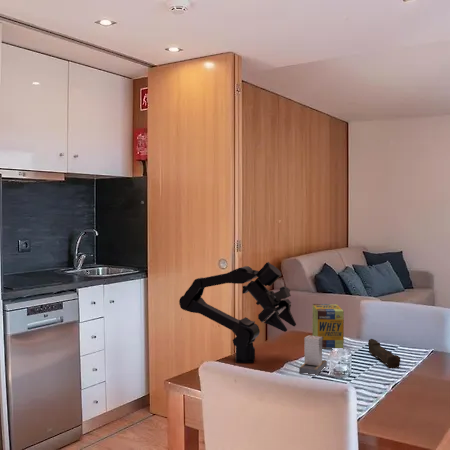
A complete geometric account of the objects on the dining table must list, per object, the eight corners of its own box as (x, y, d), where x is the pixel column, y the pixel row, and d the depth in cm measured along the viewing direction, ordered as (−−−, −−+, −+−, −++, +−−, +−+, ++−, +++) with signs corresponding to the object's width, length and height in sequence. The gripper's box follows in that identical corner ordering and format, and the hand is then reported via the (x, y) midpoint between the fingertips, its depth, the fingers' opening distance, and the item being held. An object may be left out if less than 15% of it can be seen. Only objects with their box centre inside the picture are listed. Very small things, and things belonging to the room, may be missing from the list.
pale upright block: (318, 365, 177) (318, 339, 177) (304, 363, 180) (304, 337, 179) (322, 362, 181) (322, 336, 181) (308, 360, 183) (308, 335, 183)
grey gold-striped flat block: (316, 376, 174) (316, 369, 174) (299, 373, 176) (299, 366, 176) (326, 366, 184) (326, 359, 184) (310, 364, 187) (310, 357, 187)
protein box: (317, 350, 206) (317, 310, 206) (312, 340, 221) (312, 303, 221) (344, 350, 206) (344, 310, 205) (337, 340, 221) (337, 303, 221)
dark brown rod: (401, 369, 182) (401, 353, 182) (387, 369, 181) (387, 353, 181) (377, 351, 204) (377, 337, 204) (365, 351, 204) (365, 337, 204)
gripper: (266, 283, 177) (297, 318, 173) (285, 276, 194) (314, 308, 189) (245, 304, 181) (275, 339, 176) (266, 296, 198) (294, 328, 193)
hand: (291, 328), depth 184 cm, fingers open, 9 cm apart
